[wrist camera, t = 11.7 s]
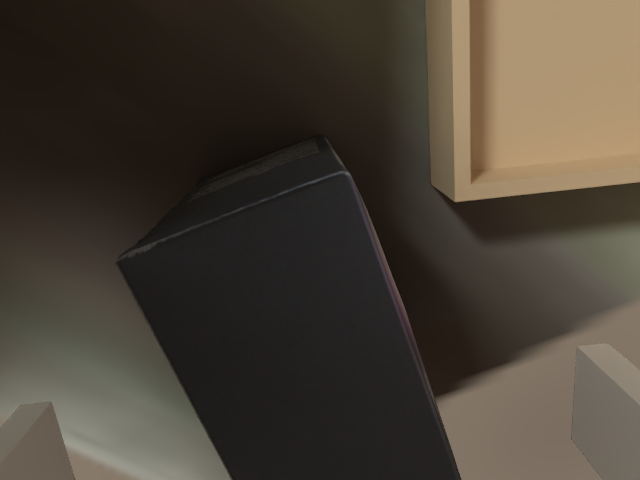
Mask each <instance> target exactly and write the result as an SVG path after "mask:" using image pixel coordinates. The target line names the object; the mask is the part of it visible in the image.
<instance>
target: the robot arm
mask: <svg viewBox="0 0 640 480" xmlns="http://www.w3.org/2000/svg"><path fill="white" fill-rule="evenodd" d="M571 434H572V435H571V439H572V440H573V442H574V443H575V444H576V445H577V447H578V448H579V449H580V451H581V452H582V453H583V455H584V456H585V457H586V458H587V460H588V461H589V462H590V463H591V465H592V466H593V467H594V469H595V470H596V471H597V473H598V474H599V475H600V477H601V478H602V479H603V480H640V370H639V369H638V368H637V367H636V366H635V365H633V364H632V363H631V362H630V361H628V360H627V359H626V358H625V357H624V356H622V355H621V354H620V353H619V352H617V351H616V350H615V349H614V348H613V347H611V346H610V345H609V344H608V343H602V344H593V345H584V346H577V350H576V367H575V384H574V401H573V417H572V433H571ZM0 480H75V478H74V474H73V471H72V467H71V464H70V461H69V457H68V454H67V451H66V448H65V444H64V441H63V438H62V435H61V431H60V428H59V425H58V421H57V418H56V415H55V412H54V408H53V405H52V402H45V403H36V404H26V405H20V407H19V408H18V409H17V410H16V411H15V412H14V413H13V414H12V415H11V417H10V418H9V419H8V420H7V421H6V422H5V423H4V424H3V425H2V426H1V428H0Z"/></svg>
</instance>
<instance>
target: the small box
mask: <svg viewBox="0 0 640 480" xmlns="http://www.w3.org/2000/svg"><path fill="white" fill-rule="evenodd" d="M116 265H117V267H118V269H119V270H120V272H121V274H122V276H123V278H124V280H125V282H126V284H127V285H128V287H129V289H130V291H131V293H132V295H133V297H134V299H135V301H136V303H137V305H138V306H139V308H140V310H141V312H142V314H143V316H144V318H145V319H146V321H147V323H148V325H149V327H150V329H151V331H152V332H153V334H154V336H155V338H156V340H157V342H158V344H159V345H160V347H161V349H162V351H163V353H164V355H165V356H166V358H167V360H168V363H169V365H170V366H171V368H172V370H173V372H174V373H175V375H176V377H177V379H178V381H179V383H180V385H181V387H182V388H183V390H184V392H185V394H186V396H187V398H188V400H189V402H190V404H191V405H192V407H193V409H194V411H195V413H196V415H197V417H198V418H199V420H200V422H201V424H202V425H203V427H204V429H205V431H206V433H207V435H208V437H209V439H210V441H211V442H212V444H213V446H214V448H215V450H216V452H217V454H218V455H219V457H220V459H221V461H222V463H223V464H224V466H225V468H226V470H227V472H228V474H229V476H230V478H231V480H461V477H460V474H459V472H458V469H457V465H456V462H455V458H454V455H453V453H452V449H451V446H450V443H449V440H448V438H447V434H446V431H445V429H444V425H443V423H442V419H441V417H440V413H439V410H438V407H437V404H436V401H435V398H434V395H433V392H432V389H431V386H430V383H429V380H428V377H427V374H426V371H425V368H424V365H423V362H422V359H421V356H420V353H419V350H418V347H417V344H416V341H415V338H414V335H413V332H412V329H411V326H410V323H409V320H408V316H407V313H406V310H405V307H404V305H403V302H402V300H401V297H400V295H399V292H398V290H397V287H396V284H395V282H394V279H393V277H392V274H391V271H390V269H389V266H388V263H387V261H386V258H385V255H384V253H383V250H382V247H381V245H380V242H379V239H378V237H377V234H376V232H375V229H374V226H373V224H372V221H371V219H370V216H369V214H368V211H367V209H366V207H365V204H364V202H363V200H362V197H361V195H360V193H359V190H358V188H357V186H356V184H355V182H354V180H353V178H352V176H351V174H350V173H349V172H348V170H347V169H346V168H345V166H344V165H343V163H342V161H341V160H340V158H339V157H338V155H337V154H336V152H335V150H334V149H333V148H332V146H331V144H330V143H329V141H328V140H327V138H326V137H325V136H324V135H321V134H320V135H317V136H314V137H311V138H309V139H306V140H303V141H301V142H298V143H296V144H293V145H289V146H287V147H285V148H282V149H280V150H277V151H274V152H271V153H269V154H266V155H264V156H261V157H259V158H256V159H253V160H251V161H248V162H245V163H243V164H241V165H238V166H235V167H233V168H230V169H227V170H225V171H222V172H220V173H217V174H214V175H212V176H209V177H207V178H204V179H201V180H199V181H198V182H197V184H196V186H195V187H194V189H193V190H191V191H190V192H189V194H187V195H186V196H185V197H184V198H183V199H182V201H181V202H179V203H178V204H177V205H176V206H175V207H174V208H173V209H172V210H171V211H170V212H169V213H167V215H165V216H164V217H163V218H162V219H161V220H160V222H158V223H157V225H156V227H153V228H152V229H151V231H150V232H149V233H148V234H147V235H146V236H145V237H144V238H143V239H140V240H139V241H138V242H137V243H136V244H135V245H134V246H133V247H131V248H130V249H128V250H127V251H125V252H124V253H123V254H121V255H120V256H119V257H118V258H117V259H116Z"/></svg>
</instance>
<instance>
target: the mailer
mask: <svg viewBox="0 0 640 480" xmlns="http://www.w3.org/2000/svg"><path fill="white" fill-rule="evenodd" d="M425 10H426V42H427V73H428V105H429V137H430V169H431V185H433V186H434V187H435V188H437V189H438V190H439V191H441V192H442V193H443V194H445V195H446V196H447V197H449V198H450V199H451V200H453V201H454V202H460V201H470V200H479V199H488V198H497V197H507V196H516V195H525V194H534V193H544V192H553V191H562V190H571V189H581V188H590V187H599V186H608V185H618V184H627V183H636V182H640V0H425Z"/></svg>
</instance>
